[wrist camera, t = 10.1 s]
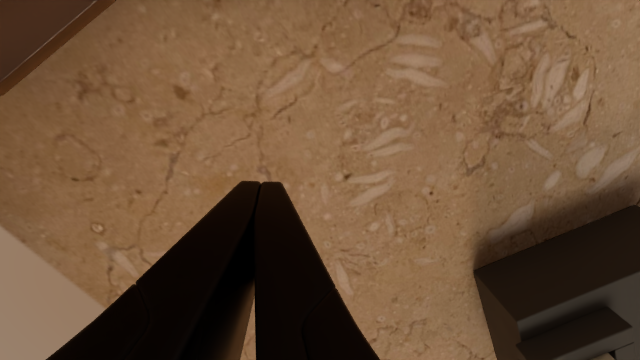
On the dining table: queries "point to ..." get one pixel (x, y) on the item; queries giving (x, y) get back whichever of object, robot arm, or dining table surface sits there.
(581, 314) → the block low
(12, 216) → the dining table surface
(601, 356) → the key low
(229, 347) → the robot arm
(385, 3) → the dining table surface
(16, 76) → the switch housing
